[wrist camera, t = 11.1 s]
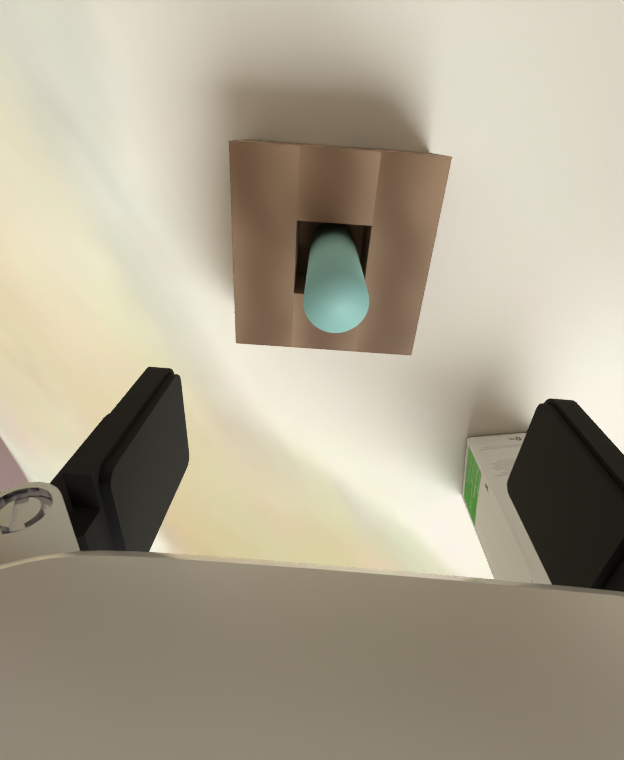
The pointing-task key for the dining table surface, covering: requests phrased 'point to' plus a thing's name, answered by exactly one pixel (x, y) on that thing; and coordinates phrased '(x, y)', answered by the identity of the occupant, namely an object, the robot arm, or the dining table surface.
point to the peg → (334, 281)
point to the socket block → (332, 205)
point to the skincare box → (499, 509)
